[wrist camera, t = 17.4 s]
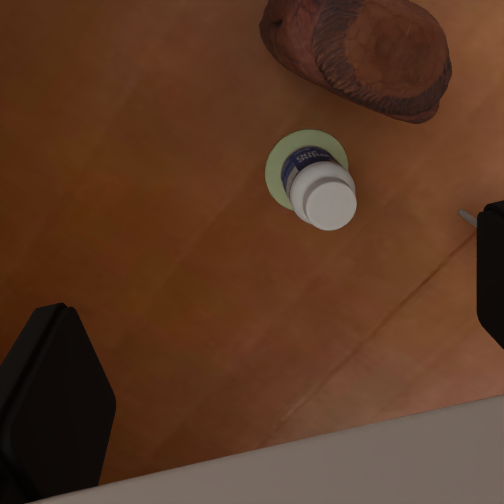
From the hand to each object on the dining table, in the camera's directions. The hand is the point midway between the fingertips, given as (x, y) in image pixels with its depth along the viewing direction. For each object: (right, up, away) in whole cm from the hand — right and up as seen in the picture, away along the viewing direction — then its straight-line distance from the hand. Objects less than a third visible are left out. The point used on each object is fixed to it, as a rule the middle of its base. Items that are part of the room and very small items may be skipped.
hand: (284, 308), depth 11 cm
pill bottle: (+4, +9, +34) cm, 36 cm away
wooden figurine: (+5, +19, +29) cm, 36 cm away
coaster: (+4, +9, +34) cm, 36 cm away
